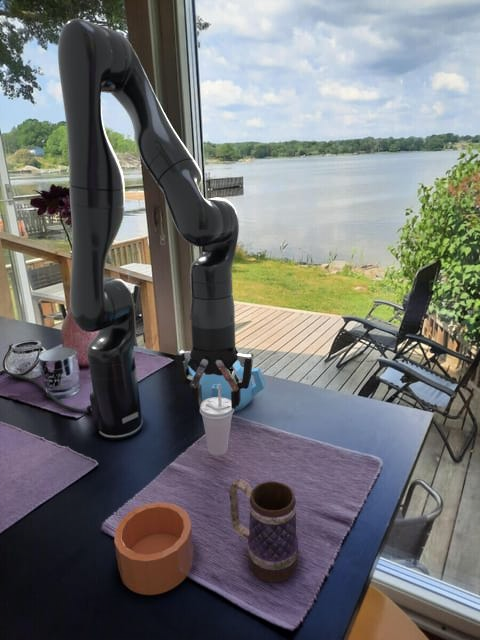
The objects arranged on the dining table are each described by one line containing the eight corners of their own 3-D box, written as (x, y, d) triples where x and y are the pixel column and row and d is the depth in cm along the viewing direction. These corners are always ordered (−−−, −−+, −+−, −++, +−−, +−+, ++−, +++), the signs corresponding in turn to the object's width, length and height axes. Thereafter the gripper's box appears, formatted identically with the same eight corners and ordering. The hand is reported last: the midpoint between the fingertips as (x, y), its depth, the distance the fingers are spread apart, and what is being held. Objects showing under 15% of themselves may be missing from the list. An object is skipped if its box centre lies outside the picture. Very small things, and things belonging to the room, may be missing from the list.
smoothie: (230, 462, 81) (229, 394, 76) (196, 457, 82) (194, 390, 77) (237, 441, 87) (237, 377, 82) (206, 438, 88) (204, 374, 83)
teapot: (213, 424, 97) (210, 380, 93) (182, 397, 109) (179, 357, 105) (269, 404, 104) (268, 362, 101) (235, 380, 117) (233, 343, 113)
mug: (306, 556, 63) (308, 487, 59) (283, 594, 58) (282, 521, 54) (247, 527, 69) (244, 462, 65) (220, 559, 63) (216, 490, 59)
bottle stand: (106, 589, 59) (100, 555, 57) (137, 530, 69) (132, 498, 67) (181, 600, 57) (177, 565, 56) (201, 537, 67) (199, 505, 65)
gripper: (257, 314, 78) (258, 398, 83) (179, 311, 80) (184, 392, 86) (251, 328, 71) (252, 419, 76) (165, 325, 73) (172, 413, 79)
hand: (216, 405), depth 81 cm, fingers closed on smoothie, 6 cm apart
